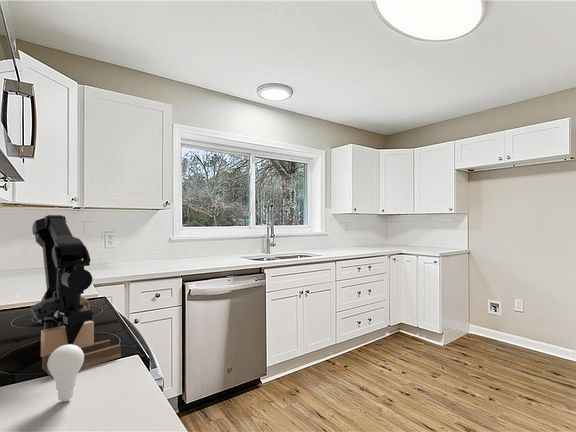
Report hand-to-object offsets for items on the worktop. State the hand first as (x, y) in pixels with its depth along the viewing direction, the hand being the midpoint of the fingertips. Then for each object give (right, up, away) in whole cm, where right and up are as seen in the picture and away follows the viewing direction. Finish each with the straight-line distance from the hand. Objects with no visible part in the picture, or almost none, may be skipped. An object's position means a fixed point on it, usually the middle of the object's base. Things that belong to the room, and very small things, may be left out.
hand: (68, 343), depth 93 cm
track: (+9, -2, -8) cm, 12 cm away
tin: (-21, -4, +31) cm, 38 cm away
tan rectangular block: (0, -2, 0) cm, 2 cm away
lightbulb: (+17, -2, -27) cm, 32 cm away
